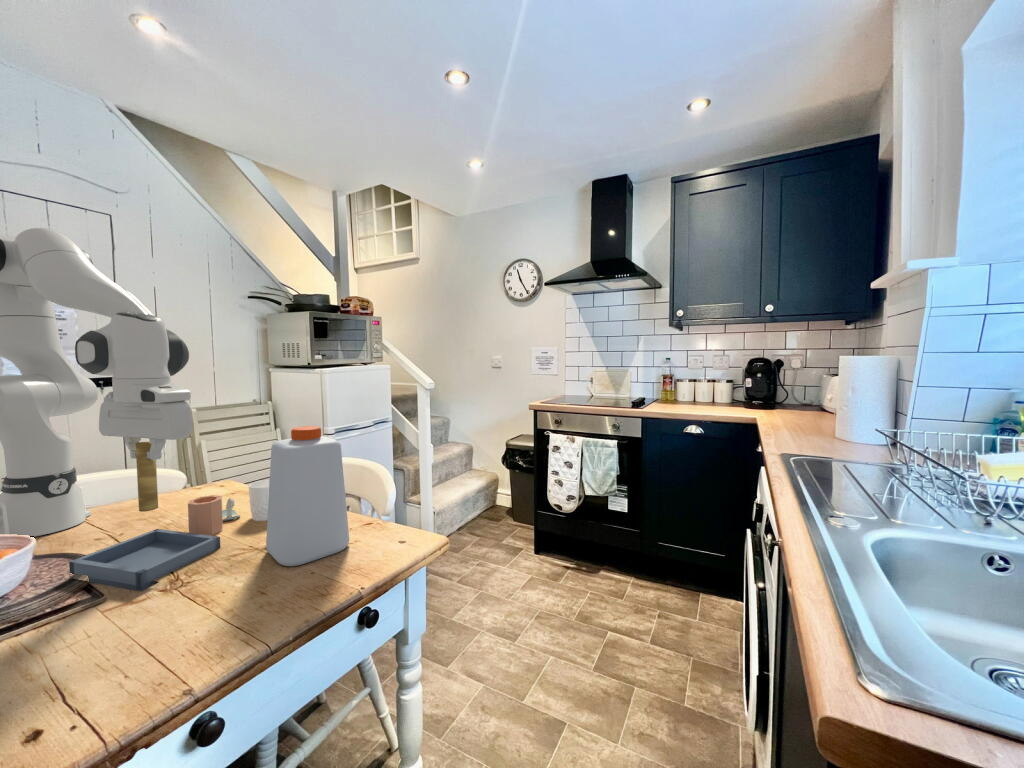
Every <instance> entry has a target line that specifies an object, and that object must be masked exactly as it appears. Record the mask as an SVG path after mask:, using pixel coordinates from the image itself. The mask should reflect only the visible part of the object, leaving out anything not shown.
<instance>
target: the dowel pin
mask: <svg viewBox="0 0 1024 768" xmlns="http://www.w3.org/2000/svg"><path fill="white" fill-rule="evenodd" d="M151 446H152V444H150V440H146V441H139V442H138V443H136V459H135V460H136V477H137V482H136V483H137V496H138V497H137V499H138V502H137V503H138V511H139V512H151V511H154V510H157V509H158V508H159V498H158V497H159V495H158V494H159V493H158V478H157V477H158V474H157V473H158V472H157V460H148V459H147V451H150V449H151Z"/></svg>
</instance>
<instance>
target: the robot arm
mask: <svg viewBox="0 0 1024 768" xmlns="http://www.w3.org/2000/svg"><path fill="white" fill-rule="evenodd" d="M53 303H54V304H55V305H57V306H61V307H65V308H69V309H74V310H78V311H83V312H89V313H94V314H97V315H101V316H104V317H106V318H107V317H108V318H111V320H110V322H109V323H108V324H106V325H104V326H102V327H101V328H97V329H94V330H89V331H87V332H85V333H84V334H82V335H81V336H80V337H78V339H76V341H75V344H74V345H75V346H74V353H75V361H76V363H77V365H78V366H79V367H80V368H81V369H83V370H84V371H86V372H88V373H89V374H91V375H97V376H103V377H104V376H107V377H108V376H110V377H112V378H111V382H112V383H111V384H112V386H111V387H112V391H109V392H108V393H107V394H106V396H104V397H103V401H102V403H101V404H100V407H99V416H98V430H99V432H100V434H101V435H102V436H103V437H117V438H124V444H125V445H126V447H127V448H128V450H129V453H130V454H129V456H130V459H132V460H133V459H134V460H136V443H138V442H142V439H149V440H148V441H150V444H152V446H151V449H150V451H147V459H148V460H156V461H157V460H160V459H162V451H163V448H164V447H165V444H166V443H167V440H168V441H169V440H171V441H172V440H173V441H174V440H175V441H176V440H180V439H186V438H188V437H190V435H191V433H192V431H193V424H192V423H193V419H192V417H193V415H192V408H191V405H190V404H189V402H187V401H190V400H191V399H192V398H191V397H192V394H191V391H190V390H189V389H186V388H185V387H182V386H180V385H177V384H176V383H174V382H171V377H172V376H175V375H176V374H178V373H179V372H181V370H183V369H184V368H185V367H186V365H187V364H188V362H189V359H190V351H189V347H188V346H187V344H186V343H185V342H184V340H183V339H182V338H180V336H179V335H178V334H176V333H175V332H173V331H171V330H169V329H168V328H167V327H166V325H165V322H164V320H163V319H162V318H160V317H159V316H156V315H154V314H153V313H152V312H151V311H150V310H149V309H148V307H146V306H145V305H144V304H143V303H142V302H141V301H140V300H139V299H138V298H137V297H136V296H135V295H134V294H132V293H131V292H130V291H129V290H127V289H125V288H124V287H122V286H120V285H119V284H117V283H115V282H114V281H113V280H111V279H110V278H108V277H107V276H106V275H105V274H103V273H102V272H101V271H100V270H99V269H98V268H96V266H95V265H94V262H93V260H92V258H91V257H90V255H89V254H88V252H86V251H85V250H83V249H81V248H80V247H79V246H78V245H77V244H76V243H75V242H74V241H73V240H71V239H70V237H67V236H66V235H65V234H63V233H62V232H60V231H57V230H54V229H51V228H45V227H32V228H28V229H25V230H23V231H21V232H20V233H18V234H17V235H16V236H11V235H1V234H0V357H1V358H3V359H6V360H8V361H9V362H10V363H12V364H13V365H14V366H15V367H16V368H17V369H18V370H19V373H21V374H18V375H17V374H16V375H14V374H13V375H12V374H11V375H9V374H8V375H0V443H1V446H2V449H3V455H4V464H5V465H4V466H5V473H6V474H5V475H6V476H4V477H3V478H1V480H3V481H0V483H1V488H0V489H1V490H0V491H1V493H0V534H17V535H29V536H34V537H39V536H44V535H47V534H52V533H56V532H61V531H64V530H68V529H69V528H73V527H74V526H77V525H80V524H83V522H85V520H86V518H87V517H89V516H91V515H92V511H91V509H87V508H86V502H85V497H84V491H83V487H82V486H80V485H78V484H76V483H77V480H78V479H77V478H78V477H77V476H78V473H77V469H76V467H74V454H73V453H74V452H73V442H72V440H71V438H70V437H68V436H67V435H65V434H63V433H60V432H58V431H56V430H55V429H54V426H53V425H52V423H51V421H50V418H51V417H59V416H68V415H73V414H76V413H78V412H79V413H80V412H83V411H85V410H87V409H90V408H91V407H93V406H94V404H96V402H97V400H98V397H99V395H98V394H99V390H98V387H97V385H96V384H95V382H93V380H92V379H90V378H88V377H87V376H85V375H83V374H82V373H81V372H80V371H78V369H76V368H75V366H74V365H73V364H72V362H71V361H70V360H69V358H68V356H67V355H66V353H65V350H64V348H63V346H62V342H61V336H60V333H59V327H58V323H57V318H56V313H55V308H54V305H53Z"/></svg>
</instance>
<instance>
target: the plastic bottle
mask: <svg viewBox="0 0 1024 768" xmlns="http://www.w3.org/2000/svg"><path fill="white" fill-rule="evenodd" d="M270 449H271V451H270V463H269V464H270V465H269V466H270V468H269V469H270V470H269V479H270V482H269V501H268V519H267V520H266V521H267V524H266V536H265V537H266V540H265V542H266V543H265V549H266V551H267V553H268V554H269V555H270V556H271V557H272V558H273V559H274V560H275V561H276V562H277V563H278V564H279V565H282V566H285V567H296V566H301V565H304V564H308V563H311V562H314V561H317V560H320V559H322V558H325V557H329V556H331V555H334V554H337V553H339V552H342V551H343V550H345V549H346V548H347V547H348V545H349V543H350V532H349V531H350V530H349V521H348V509H347V499H346V486H345V478H344V468H343V464H344V463H343V455H342V453H343V452H342V445H341V443H340V441H339V440H336V439H335V438H331V437H330V436H329V437H327V436H324V435H322V428H321V427H320V426H318V425H316V426H315V425H309V426H308V425H306V426H298V427H293V428H292V429H291V430H290V438H287V439H281V440H280V439H279V440H277V441H275V442H274V443H273V444H272V445H271V448H270Z"/></svg>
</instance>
